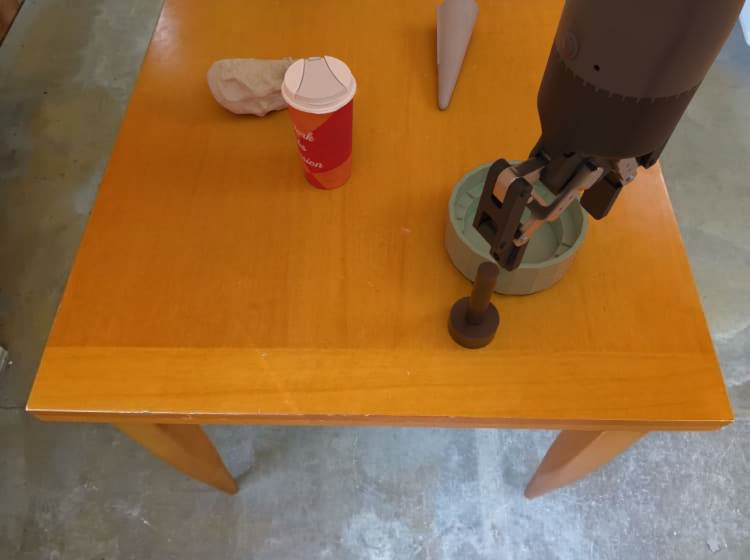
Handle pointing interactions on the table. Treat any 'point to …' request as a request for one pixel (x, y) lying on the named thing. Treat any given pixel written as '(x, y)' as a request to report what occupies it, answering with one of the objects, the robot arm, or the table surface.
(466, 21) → the long tapered cone
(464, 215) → the bowl
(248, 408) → the table surface
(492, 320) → the brown capped cylinder
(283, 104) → the pale crumpled lump
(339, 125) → the coffee cup
